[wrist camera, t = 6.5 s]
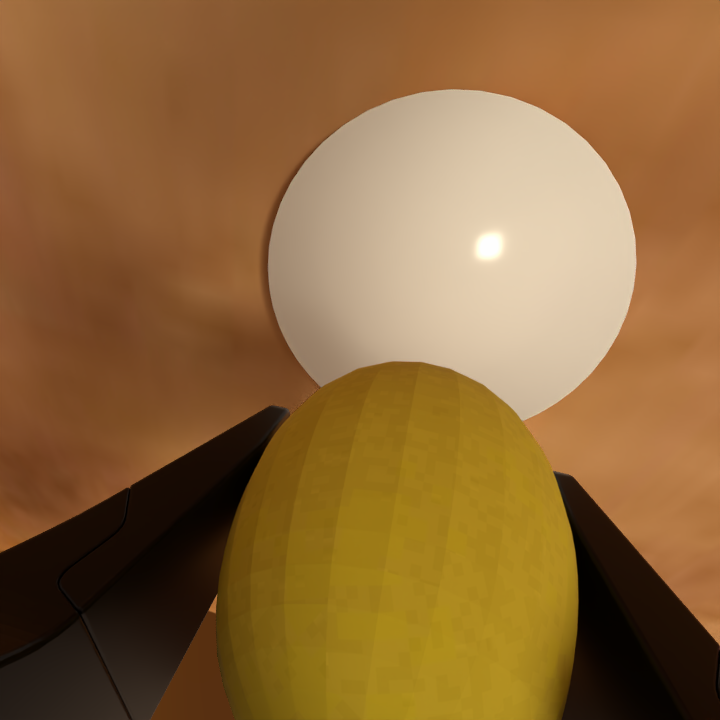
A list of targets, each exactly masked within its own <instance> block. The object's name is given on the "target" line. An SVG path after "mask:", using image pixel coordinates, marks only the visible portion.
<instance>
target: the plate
mask: <svg viewBox="0 0 720 720" xmlns="http://www.w3.org/2000/svg"><path fill="white" fill-rule="evenodd" d="M635 271H636V246H635V235H634V230H633V226H632V221H631V216H630V212H629V209H628V207H627V204H626V201H625V199H624V196H623V194H622V191H621V189H620V186H619V185H618V183H617V181H616V180H615V178H614V176H613V175H612V173H611V171H610V170H609V168H608V166H607V165H606V163H605V162H604V161H603V160H602V158H601V157H600V156H599V155H598V154H597V153H596V151H595V150H594V149H593V148H592V147H591V146H590V144H589V143H588V142H587V141H586V140H585V139H584V138H582V137H581V136H580V135H579V134H578V133H576V132H575V131H574V130H573V129H571V128H570V127H569V126H568V125H567V124H565V123H564V122H562V121H561V120H559V119H557V118H556V117H554V116H552V115H551V114H549V113H547V112H545V111H544V110H542V109H540V108H538V107H536V106H533V105H531V104H528V103H525V102H523V101H520V100H517V99H515V98H512V97H509V96H504V95H499V94H494V93H489V92H485V91H475V90H455V89H449V90H440V91H430V92H421V93H417V94H413V95H409V96H406V97H402V98H398V99H394V100H391V101H389V102H387V103H384V104H382V105H380V106H377V107H375V108H372V109H370V110H368V111H366V112H364V113H363V114H361V115H359V116H358V117H356V118H354V119H353V120H351V121H349V122H348V123H346V124H344V125H343V126H342V127H341V128H339V129H338V130H337V131H336V132H334V133H333V134H332V135H331V136H330V137H328V138H327V139H326V140H325V141H324V142H322V143H321V145H320V146H319V147H318V148H317V149H316V150H315V151H314V152H313V153H312V154H311V156H310V157H309V158H308V159H307V160H306V161H305V162H304V164H303V165H302V167H301V168H300V170H299V171H298V173H297V174H296V176H295V177H294V178H293V180H292V181H291V183H290V185H289V187H288V189H287V191H286V193H285V195H284V197H283V199H282V201H281V204H280V206H279V209H278V212H277V215H276V218H275V221H274V224H273V229H272V234H271V239H270V244H269V257H268V277H269V289H270V295H271V300H272V305H273V309H274V312H275V315H276V318H277V321H278V324H279V327H280V329H281V331H282V334H283V336H284V338H285V340H286V342H287V344H288V346H289V347H290V349H291V351H292V352H293V354H294V356H295V357H296V359H297V360H298V362H299V363H300V364H301V366H302V367H303V368H304V369H305V371H306V372H307V373H308V374H309V376H310V377H311V378H312V379H313V380H314V381H315V382H316V383H317V384H318V385H319V386H320V387H323V386H324V385H326V384H328V383H330V382H332V381H334V380H336V379H338V378H340V377H342V376H344V375H346V374H348V373H350V372H352V371H354V370H356V369H358V368H362V367H367V366H371V365H376V364H381V363H386V362H391V361H403V362H424V363H428V364H433V365H437V366H441V367H445V368H449V369H452V370H454V371H456V372H458V373H460V374H463V375H465V376H467V377H469V378H471V379H473V380H475V381H477V382H479V383H481V384H483V385H484V386H486V387H487V388H488V389H489V390H491V391H492V392H493V393H494V394H495V395H497V396H498V397H499V398H500V399H502V400H503V401H504V402H505V403H506V404H508V405H509V406H510V407H511V408H512V409H513V410H514V411H515V412H516V413H517V415H518V416H519V417H520V419H521V420H522V421H524V420H526V419H528V418H530V417H532V416H535V415H537V414H539V413H541V412H542V411H544V410H546V409H547V408H549V407H551V406H552V405H554V404H556V403H557V402H559V401H560V400H561V399H563V398H564V397H565V396H567V395H568V394H569V393H570V392H572V391H573V390H574V389H576V388H577V387H578V386H579V385H580V384H581V383H582V382H583V381H584V380H585V379H586V378H587V377H588V376H589V375H590V374H591V373H592V372H593V370H594V369H595V368H596V367H597V365H598V364H599V363H600V361H601V360H602V359H603V358H604V356H605V355H606V354H607V352H608V350H609V349H610V347H611V345H612V344H613V342H614V340H615V339H616V337H617V335H618V333H619V331H620V328H621V326H622V324H623V321H624V319H625V317H626V314H627V312H628V308H629V304H630V300H631V297H632V293H633V289H634V280H635Z"/></svg>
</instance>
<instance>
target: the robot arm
mask: <svg viewBox="0 0 720 720" xmlns="http://www.w3.org/2000/svg"><path fill="white" fill-rule="evenodd" d="M289 416H290V412H289V410H288V409H287V408H283V407H279V406H273V405H272V406H269V407H267V408H265V409H264V410H262V411H260V412H258V413H257V414H255V415H253V416H251V417H250V418H248V419H246V420H245V421H243V422H241V423H239V424H238V425H236V426H234V427H232V428H231V429H229V430H227V431H225V432H224V433H222V434H220V435H218V436H217V437H215V438H213V439H211V440H210V441H208V442H206V443H204V444H203V445H201V446H199V447H197V448H196V449H194V450H192V451H190V452H189V453H187V454H185V455H183V456H182V457H180V458H178V459H176V460H175V461H173V462H171V463H170V464H168V465H166V466H164V467H163V468H161V469H159V470H157V471H156V472H154V473H152V474H150V475H149V476H147V477H145V478H143V479H142V480H140V481H138V482H136V483H135V484H133V485H131V487H130V488H126V489H124V490H122V491H120V492H119V493H117V494H115V495H113V496H112V497H110V498H108V499H106V500H105V501H103V502H101V503H99V504H97V505H95V506H94V507H92V508H90V509H88V510H86V511H84V512H83V513H81V514H79V515H77V516H75V517H73V518H71V519H69V520H67V521H65V522H63V523H61V524H59V525H57V526H55V527H53V528H51V529H49V530H47V531H45V532H43V533H41V534H39V535H37V536H35V537H33V538H30V539H28V540H26V541H24V542H22V543H20V544H18V545H16V546H14V547H12V548H10V549H8V550H5V551H3V552H1V553H0V720H150V719H151V717H152V715H153V713H154V711H155V709H156V708H157V706H158V704H159V702H160V700H161V698H162V696H163V695H164V693H165V691H166V689H167V687H168V685H169V683H170V681H171V680H172V678H173V676H174V674H175V672H176V670H177V668H178V666H179V664H180V663H181V661H182V659H183V657H184V655H185V653H186V651H187V650H188V648H189V646H190V644H191V642H192V640H193V638H194V636H195V634H196V633H197V630H198V629H199V627H200V625H201V623H202V621H203V619H204V618H205V616H206V614H207V612H208V610H209V608H210V606H211V604H212V603H213V601H214V599H215V597H216V595H217V593H218V584H219V576H220V571H221V566H222V561H223V556H224V551H225V547H226V544H227V540H228V536H229V532H230V529H231V526H232V523H233V520H234V517H235V514H236V511H237V508H238V505H239V503H240V500H241V498H242V495H243V493H244V490H245V488H246V486H247V484H248V482H249V480H250V478H251V476H252V474H253V472H254V470H255V468H256V466H257V464H258V462H259V460H260V459H261V457H262V455H263V453H264V451H265V449H266V447H267V445H268V444H269V442H270V441H271V439H272V438H273V436H274V434H275V433H276V432H277V431H278V429H279V428H280V427H281V425H282V424H283V423H284V422H285V421H286V420H287V419H288V418H289ZM553 473H554V476H555V478H556V481H557V484H558V487H559V490H560V494H561V497H562V500H563V503H564V507H565V510H566V513H567V517H568V521H569V524H570V528H571V531H572V537H573V542H574V547H575V553H576V563H577V574H578V624H577V637H576V646H575V654H574V663H573V669H572V675H571V681H570V687H569V691H568V695H567V700H566V704H565V708H564V713H563V717H562V719H561V720H720V646H719V644H718V643H717V642H716V641H715V639H714V638H713V637H712V636H711V635H710V634H709V632H708V631H707V630H706V629H705V628H704V627H703V626H702V624H701V623H700V622H699V621H698V620H697V619H696V618H695V616H694V615H693V614H692V613H691V612H690V611H689V609H688V608H687V607H686V606H685V605H684V604H683V603H682V601H681V600H680V599H679V598H678V597H677V596H676V595H675V593H674V592H673V591H672V590H671V589H670V588H669V586H668V585H667V584H666V583H665V582H664V581H663V580H662V578H661V577H660V576H659V575H658V574H657V573H656V571H655V570H654V569H653V568H652V567H651V566H650V565H649V563H648V562H647V561H646V560H645V559H644V558H643V557H642V555H641V554H640V553H639V552H638V551H637V550H636V548H635V547H634V546H633V545H632V544H631V543H630V542H629V540H628V539H627V538H626V537H625V536H624V535H623V534H622V532H621V531H620V530H619V529H618V528H617V527H616V525H615V524H614V523H613V522H612V521H611V520H610V519H609V517H608V516H607V515H606V514H605V513H604V512H603V510H602V509H601V508H600V507H599V506H598V505H597V504H596V502H595V501H594V500H593V499H592V498H591V497H590V496H589V494H588V493H587V492H586V491H585V490H584V489H583V487H582V486H581V485H580V484H579V483H578V482H577V481H576V479H575V478H574V477H572V476H571V475H569V474H564V473H560V472H556V471H553Z"/></svg>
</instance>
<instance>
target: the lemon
mask: <svg viewBox="0 0 720 720" xmlns="http://www.w3.org/2000/svg"><path fill="white" fill-rule="evenodd" d="M577 624H578V574H577V563H576V553H575V547H574V542H573V537H572V531H571V528H570V524H569V521H568V517H567V513H566V510H565V507H564V503H563V500H562V497H561V494H560V490H559V487H558V484H557V481H556V478H555V476H554V473H553V471H552V468H551V465H550V463H549V461H548V460H547V458H546V456H545V454H544V452H543V450H542V449H541V447H540V446H539V444H538V443H537V441H536V440H535V439H534V437H533V436H532V434H531V433H530V432H529V430H528V429H527V427H526V426H525V424H524V423H523V422H522V420H521V419H520V417H519V416H518V415H517V413H516V412H515V411H514V410H513V409H512V408H511V407H510V406H509V405H508V404H506V403H505V402H504V401H503V400H502V399H500V398H499V397H498V396H497V395H495V394H494V393H493V392H492V391H491V390H489V389H488V388H487V387H486V386H484V385H483V384H481V383H479V382H477V381H475V380H473V379H471V378H469V377H467V376H465V375H463V374H460V373H458V372H456V371H454V370H452V369H449V368H445V367H441V366H437V365H433V364H428V363H424V362H403V361H391V362H386V363H381V364H376V365H371V366H367V367H362V368H358V369H356V370H354V371H352V372H350V373H348V374H346V375H344V376H342V377H340V378H338V379H336V380H334V381H332V382H330V383H328V384H326V385H324V386H323V387H321V388H320V389H319V390H318V391H316V392H315V393H314V394H313V395H312V396H311V397H310V398H308V399H307V400H306V401H305V402H304V403H303V404H302V405H301V406H300V407H299V408H298V409H296V410H295V411H294V412H293V413H292V414H291V415H290V416H289V418H288V419H287V420H286V421H285V422H284V423H283V424H282V425H281V427H280V428H279V429H278V431H277V432H276V433H275V434H274V436H273V438H272V439H271V441H270V442H269V444H268V445H267V447H266V449H265V451H264V453H263V455H262V457H261V459H260V460H259V462H258V464H257V466H256V468H255V470H254V472H253V474H252V476H251V478H250V480H249V482H248V484H247V486H246V488H245V490H244V493H243V495H242V498H241V500H240V503H239V505H238V508H237V511H236V514H235V517H234V520H233V523H232V526H231V529H230V532H229V536H228V540H227V544H226V547H225V551H224V556H223V561H222V566H221V571H220V576H219V584H218V595H217V605H216V638H217V657H218V662H219V667H220V672H221V677H222V682H223V686H224V689H225V692H226V695H227V698H228V701H229V704H230V707H231V710H232V712H233V715H234V718H235V720H561V719H562V717H563V713H564V708H565V704H566V700H567V695H568V691H569V687H570V681H571V675H572V669H573V663H574V654H575V646H576V637H577Z"/></svg>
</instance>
